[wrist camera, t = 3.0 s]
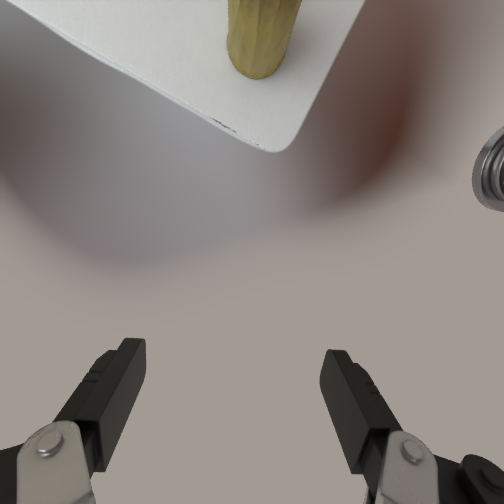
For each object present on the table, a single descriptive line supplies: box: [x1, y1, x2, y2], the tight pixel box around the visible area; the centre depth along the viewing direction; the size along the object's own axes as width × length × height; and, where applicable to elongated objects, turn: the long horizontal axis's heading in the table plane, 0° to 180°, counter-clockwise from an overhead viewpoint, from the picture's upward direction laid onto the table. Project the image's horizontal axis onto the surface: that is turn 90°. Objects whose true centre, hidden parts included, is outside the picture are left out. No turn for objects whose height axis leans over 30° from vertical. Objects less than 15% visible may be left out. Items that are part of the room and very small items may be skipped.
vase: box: [227, 0, 302, 79], centre depth 20 cm, size 6×6×14 cm
